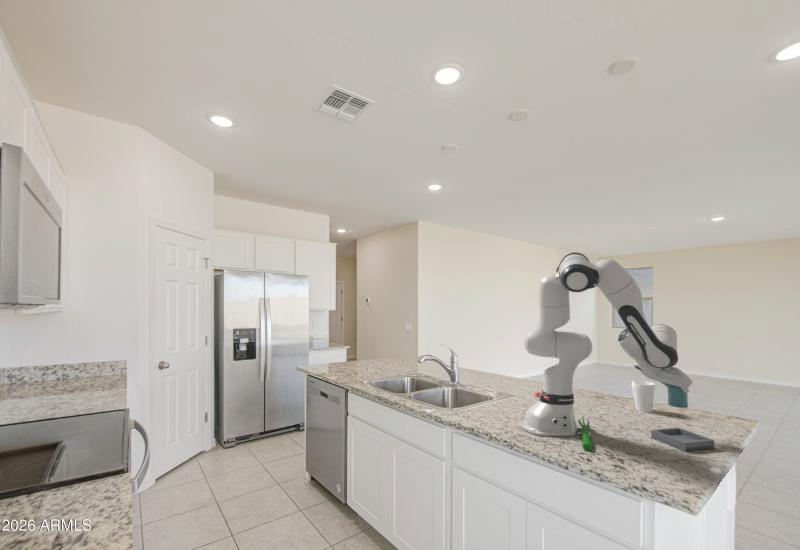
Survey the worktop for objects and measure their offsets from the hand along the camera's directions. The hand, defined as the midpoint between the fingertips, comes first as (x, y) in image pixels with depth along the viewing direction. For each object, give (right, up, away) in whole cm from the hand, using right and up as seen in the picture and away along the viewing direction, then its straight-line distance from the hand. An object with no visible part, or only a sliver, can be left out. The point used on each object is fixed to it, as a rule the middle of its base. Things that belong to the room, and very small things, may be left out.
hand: (678, 389), depth 140 cm
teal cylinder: (-1, -6, -1) cm, 6 cm away
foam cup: (+9, -21, +33) cm, 40 cm away
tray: (-4, -18, -7) cm, 19 cm away
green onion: (-37, -18, 0) cm, 41 cm away
